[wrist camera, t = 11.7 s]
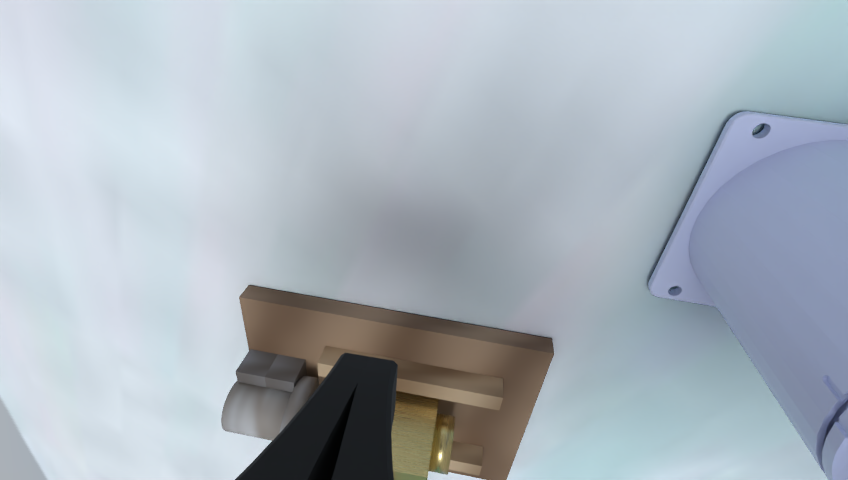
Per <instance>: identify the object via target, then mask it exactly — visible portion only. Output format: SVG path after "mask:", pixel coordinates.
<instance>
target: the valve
mask: <svg viewBox="0 0 848 480" xmlns="http://www.w3.org/2000/svg"><path fill="white" fill-rule="evenodd" d="M438 401H439V399H436V398H431V397H426V396H421V395H415V394H410V393H405V392H400V391H396V402H395V413H394V419H393V425H392V432H391V438H392V462H393V476H394V480H427V477H428V471H431V472H437V473H442V474H448V471H449V465H450V459H451V452H452V444H453V436H454V427H455V416H451V415H445V414H440V413H437V408H438Z"/></svg>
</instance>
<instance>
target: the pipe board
mask: <svg viewBox="0 0 848 480" xmlns="http://www.w3.org/2000/svg"><path fill="white" fill-rule="evenodd" d="M239 299H240V304H241V309H242V315H243V320H244V325H245V331H246V336H247V341H248V347H249V352H248V354H247V355H246V357H245V358H244V360H243V361H242V363H241V364H240V366H239V367H238V369H237V370H236V375H237V380H238V381H237V382H236V383H235V384H234V385H233V387H232V388H231V390H230V392H229V394H228V396H227V398H226V401H225V404H224V407H223V411H222V419H221V422H222V428H223V429H224V430H225V431H228V432H233V433H238V434H243V435H248V436H253V437H257V438H262V439H267V440H272V441H273V440H274V439H275V438H276V436H277V435H278V434H279V433H280V432H281V431H282V430H283V429H284V428H285V426H286V425H287V424H288V423H289V422H290V421H291V419H292V418H293V417H294V416H295V415H296V413H297V412H298V411H299V410H300V409H301V408H302V406H303V405H304V404H305V403H306V402H307V400H308V399H309V398H310V397H311V395H312V394H313V393H314V392H315V390H316V389H317V388H318V387H319V385H320V384H321V383H322V381H323V380H324V379H325V377H326V376H327V375H328V373H329V372H330V371H331V369H332V368H333V366H334V365H335V364H336V362H337V361H338V359H339V358H340V356H341V355H342V354H344V353H351V354H357V355H363V356H369V357H375V358H381V359H387V360H393V361H394V362H395V363H396V364H397V365H398V370H397V386H396V391H400V392H405V393H410V394H415V395H421V396H426V397H431V398H436V399H439V401H438V408H437V413H440V414H445V415H451V416H455V427H454V436H453V444H452V452H451V459H450V465H449V471H448V472H452V473H457V474H461V475H466V476H471V477H476V478H481V479H486V480H506V479H507V477H508V474H509V471H510V469H511V466H512V463H513V461H514V458H515V456H516V453H517V450H518V448H519V445H520V442H521V440H522V437H523V434H524V432H525V429H526V426H527V424H528V421H529V419H530V416H531V413H532V411H533V408H534V405H535V403H536V400H537V397H538V395H539V392H540V389H541V387H542V384H543V382H544V379H545V376H546V374H547V371H548V368H549V366H550V363H551V360H552V358H553V355H554V350H553V343H552V339H551V338H545V337H539V336H534V335H528V334H522V333H517V332H511V331H505V330H500V329H494V328H488V327H483V326H477V325H471V324H466V323H460V322H454V321H449V320H443V319H437V318H432V317H426V316H420V315H415V314H409V313H403V312H398V311H392V310H386V309H381V308H375V307H370V306H364V305H358V304H353V303H347V302H341V301H336V300H330V299H324V298H319V297H313V296H307V295H302V294H296V293H290V292H285V291H279V290H273V289H268V288H262V287H256V286H251V285H249V286H248V287H247V288H246V289H245V291H244V292H243V293H242V294H241V296H240V297H239Z"/></svg>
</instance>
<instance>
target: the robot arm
mask: <svg viewBox="0 0 848 480" xmlns="http://www.w3.org/2000/svg"><path fill="white" fill-rule="evenodd" d="M762 123H764V124H765V125H764V129H763V130H762V131H761V132H760V133H758V134H756V135H752V132H753V129H754V128H755V127H756V126H757V125H759V124H762ZM673 286H678V287H677V288H676V289H674V290H669V289H670V288H671V287H673ZM648 287H649V290H650V292H651V294H653V295H654V296H656V297H661V298H667V299H673V300H679V301H685V302H691V303H697V304H703V305H709V306H715V307H717V308H718V310H719V311H720V313H721V315H722V316H723V318H724V319H725V321H726V322H727V324H728V325H729V327H730V328H731V330H732V332H733V333H734V335H735V336H736V338H737V339H738V341H739V342H740V344H741V345H742V347H743V349H744V350H745V352H746V353H747V355H748V356H749V358H750V359H751V361H752V362H753V364H754V366H755V367H756V369H757V370H758V372H759V373H760V375H761V376H762V378H763V379H764V381H765V383H766V384H767V386H768V387H769V389H770V390H771V392H772V393H773V395H774V397H775V398H776V400H777V401H778V403H779V404H780V406H781V407H782V409H783V410H784V412H785V414H786V415H787V417H788V418H789V420H790V421H791V423H792V424H793V426H794V427H795V429H796V431H797V432H798V434H799V435H800V437H801V438H802V440H803V441H804V443H805V444H806V446H807V448H808V449H809V451H810V452H811V454H812V455H813V457H814V458H815V460H816V461H817V463H818V465H819V466H820V468H821V469H822V470H823V471H824V473H825V474H826V476H827V478H828V480H848V124H841V123H833V122H826V121H818V120H811V119H803V118H795V117H788V116H780V115H773V114H765V113H757V112H750V111H745V112H740V113H737V114H735V115H734V116H732V117H731V118H730V119H729V120H728V122H727V123H726V125H725V127H724V129H723V131H722V133H721V135H720V137H719V139H718V141H717V143H716V145H715V147H714V149H713V151H712V153H711V155H710V157H709V159H708V162H707V164H706V166H705V168H704V170H703V172H702V174H701V176H700V178H699V180H698V182H697V184H696V186H695V188H694V190H693V192H692V194H691V196H690V198H689V200H688V202H687V204H686V207H685V209H684V211H683V213H682V215H681V217H680V219H679V221H678V223H677V225H676V227H675V229H674V231H673V233H672V235H671V237H670V239H669V241H668V243H667V245H666V247H665V249H664V252H663V254H662V256H661V258H660V260H659V262H658V264H657V266H656V268H655V270H654V272H653V274H652V276H651V278H650V280H649V282H648ZM397 370H398V365H397V364H396V363H395V362H394V361H393V360H387V359H381V358H375V357H369V356H363V355H357V354H351V353H344V354H342V355H341V356H340V358H339V359H338V361H337V362H336V364H335V365H334V366H333V368H332V369H331V371H330V372H329V373H328V375H327V376H326V377H325V379H324V380H323V381H322V383H321V384H320V385H319V387H318V388H317V389H316V390H315V392H314V393H313V394H312V395H311V397H310V398H309V399H308V400H307V402H306V403H305V404H304V405H303V406H302V408H301V409H300V410H299V411H298V412H297V413H296V415H295V416H294V417H293V418H292V419H291V421H290V422H289V423H288V424H287V425H286V426H285V428H284V429H283V430H282V431H281V432H280V433H279V434H278V435H277V436H276V438H275V439H274V440H273V441H272V442H271V443H270V444H269V445H268V446H267V447H266V448H265V449H264V450H263V452H262V453H261V454H260V455H259V456H258V457H257V458H256V459H255V460H254V461H253V462H252V463H251V464H250V465H249V466H248V467H247V468H246V469H245V470H244V471H243V472H242V473H241V474H240V475H239V476H238V477H237V478H236V479H235V480H394V476H393V462H392V438H391V432H392V425H393V419H394V413H395V402H396V386H397Z"/></svg>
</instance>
